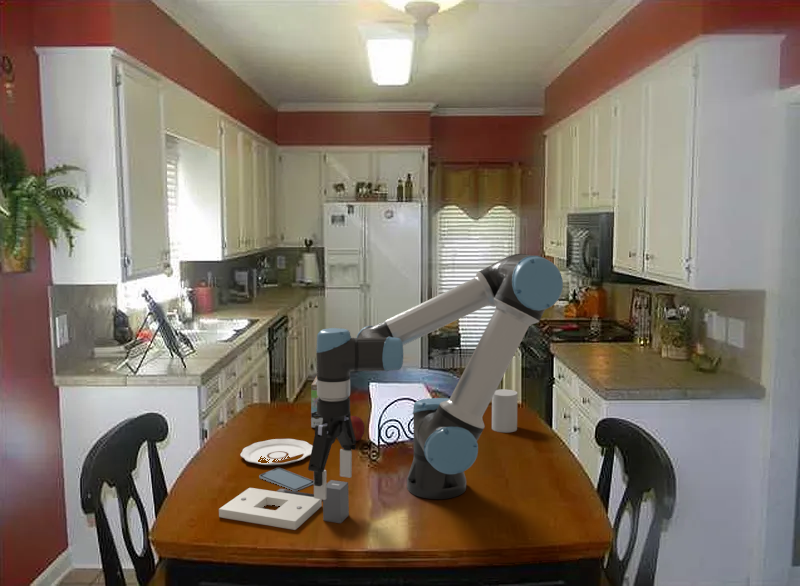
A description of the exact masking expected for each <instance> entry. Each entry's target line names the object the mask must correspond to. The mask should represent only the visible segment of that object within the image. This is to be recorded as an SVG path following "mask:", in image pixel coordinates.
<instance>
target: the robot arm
mask: <svg viewBox="0 0 800 586" xmlns="http://www.w3.org/2000/svg"><path fill="white" fill-rule="evenodd" d="M563 286H564V281H563V276H562V273H561V271H560V269H559V268H558V266H557V265H556V264H554V262H553V261H552V260H551V261H550V260H549V259H546V258H545V257H542V256H541V255H532V254H531V255H530V254H525V253H514V254H512V255H507V256H506V257H504V258H502V259H500V260H498V261H496V262H494V263H493V264H491V265H489V266H487V267H485V268H483V269H481V270H479V271H477V273H476V274H475V276H474V278H472V279H469V280H468V281H465V282H463V283H461V284H459V285H457V286H455V287H453V288H451V289H448V290H447V291H444V292H442V293H441V294H438V295H436V296H434V297H432V298H430V299H428V300H426V301H423V302H421V303H419V304H417V305H414V306H412V307H410V308H409V309H407V310H404V311H402V312H400V313H398V314H396V315H394V316H392V317H389V318H388V319H386V320H384V321H382V322H379V323H377V324H375V325H366V326H363V328H361V329H360V330H359V331H358V333H357V335H356V337H352V336H351V331H350V330H349V329H346V328H342V327H341V328H338V327H329V328H323V329H321V330H320V331H318V333H317V335H316V348H315V349H316V352H315V354H316V376H317V381H316V385H317V396H318V399H317V414H318V415H319V416H321V417H322V418H323V421H322V425H316V426H315V428H314V438H313V442H312V446H313V447H312V452H311V455H310V457H309V458H310V459H309V461H308V468H307V471H311V472H313V481H314V484H313V494H314V498H316V499H321V501H323V500H325V499H326V484H327V470H326V465H327V461H328V459H329V455H330V452H331V448H332V445H333V444H334V443H335V442H336V439H337V441H338V443H339V444H340V447H341V448H340V449H339V477H341V478H342V477H343V478H350V479H351V478H352V475H353V473H352V472H353V471H352V467H353V465H352V464H353V463H352V461H353V459H352V457H353V456H352V454H353V453H352V451H354V450H356V449H357V446H356V444H357V441H356V439H355V434H354V430H353V426H352V422H351V416H352V415H351V399H350V395H351V372H376V371H377V372H381V371H382V372H391V371H398V370H401V369H402V368H403V365H404V346H406V345H407V344H409V343H411V342H414V341H416V340H418V339H420V338H422V337H424V336H427V335H428V334H430V333H433V332H435V331H437V330H439V329H440V328H441V329H442V328H443V327H445V326H447V325H450V324H451V323H454V322H456V321H458V320H459V319H462V318H464V317H467V316H469V315H470V314H473V313H475V312H477V311H479V310H481V309H483V308H486V307H487V306H491V307H493V308H495V310H494V312H493V314H492V316H491V317H490V319H489V322H488V323H487V326H486V327H485V329H484V331H483V333H482V335H481V337H480V339H479V340H478V343H477V345H476V347H475V349H474V351H473V353H472V355H471V357H470V358H469V361H468V363H467V364H466V366H465V369H464V370H463V372H462V374H461V376H460V377H459V380H458V381H457V384H456V386H455V388H454V390H453V392H452V393H451V395H450V398H447V397H446V398H445V397H431V398H430V397H429V398H422V399H419V400H417V401H415V402H414V404H413V410H412V415H413V416H412V417H413V460H412V461H411V462H412V463H411V465H410V469H409V472H408V474H407V479H406V489H407V490H408V492H409V493H411V494H412V495H414V496H416V497H419V498H423V499H429V500H446V499H452V498H456V497H458V496H461V495H462V494H464V493H465V491H467V478H466V474H465V471H467V470H468V469H470V468H471V467H472V466H473V464H474V463H475V462H476V459H477V458H478V455H479V454H478V453H479V444H478V441H479V439H480V437H481V435H482V433H483V431H484V429H485V426H486V425H485V423H484V420H483V416H484V414H485V413H486V411H487V409H488V407H489V405H490V403H491V402H492V397H493V395H494V393H495V391H496V390H498V388H499V385H500V383H501V381H502V380H503V378H504V376H505V374H506V372H507V370H508V368H509V365H510V364H511V362H512V360H513V358H514V357H515V354H516V353H517V350H518V349H519V347H520V345H521V342H522V341H523V338H524V337H525V336H526V333H527V331H528V329H529V327H531V326H532V325H535V324H537V323H540V321H541V318H542V317H543V315H544V313H545V311H546V310H547V309H549V308H551V307H553V306H554V305H555V304H556V303H557V301H559V299H560V298H561V296H562V293H563V289H564V287H563ZM350 438H351V439H350Z"/></svg>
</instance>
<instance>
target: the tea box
mask: <svg viewBox="0 0 800 586" xmlns="http://www.w3.org/2000/svg"><path fill="white" fill-rule="evenodd" d="M316 381H317V375H316V376H315V378H314V380H313V382H312V383H311V385H310V386H311V387H310V388H311V389H310V390H311V391H310V392H311V393H310V394H311V395H310V397H311V398H310V405H311V406H310V407H311V409H310V418H311V419H310V422H311V423H310V424H311V425H310V427H311V428H314V429H315V426H316V425H322V421H323V418H322V417H321V416H319V415H318V414H317V399H318V396H317V385H316Z"/></svg>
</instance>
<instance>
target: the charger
mask: <svg viewBox="0 0 800 586" xmlns="http://www.w3.org/2000/svg"><path fill="white" fill-rule="evenodd" d="M349 509H350V507H349V482H348V481H340V480H334V479H330V480H329V481H328V482H326V499H325V500H322V512H323V513H322V514H323V515H322V516H323V517H322V518H323V519H322V520H323V521H324V522H330V523H334V524H335V523H337V524H342V523H343V522H344V521H345V520H346V519H347V518H348V517H349V515H350V513H349V512H350V510H349Z"/></svg>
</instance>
